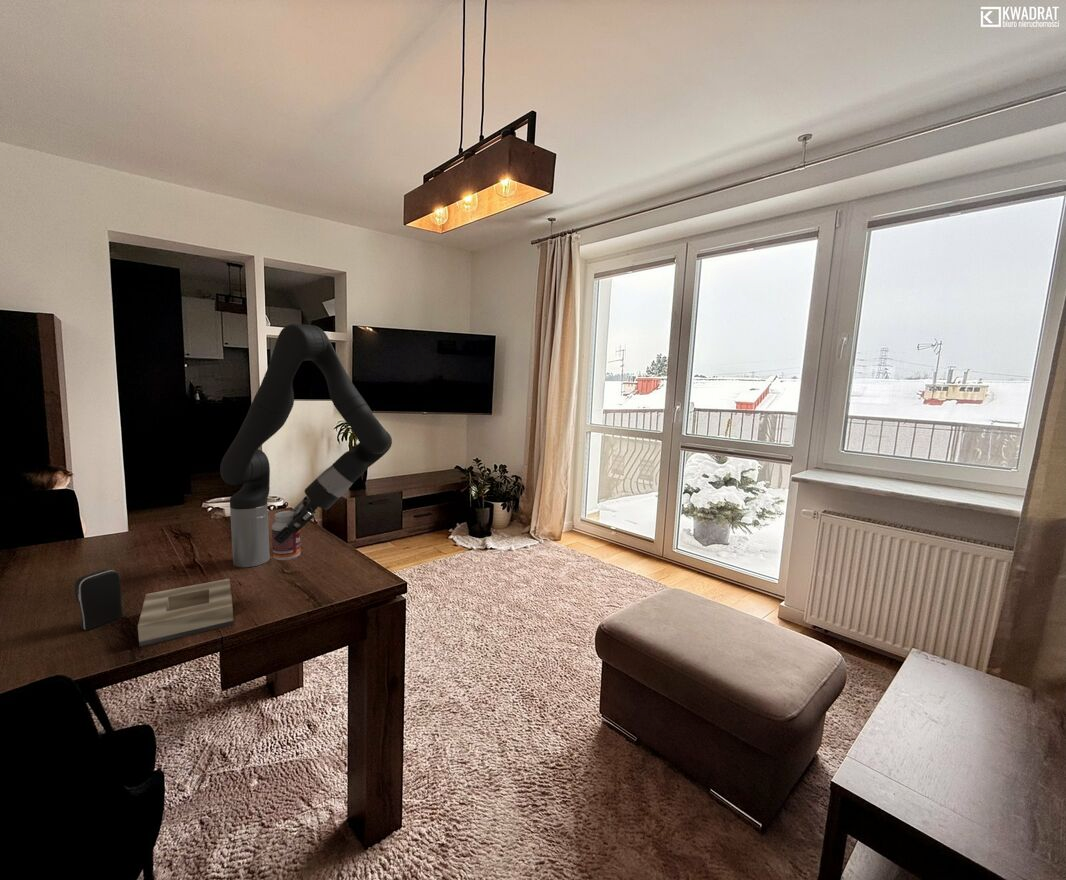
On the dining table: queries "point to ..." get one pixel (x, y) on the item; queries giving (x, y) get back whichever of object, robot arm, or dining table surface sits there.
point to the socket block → (185, 611)
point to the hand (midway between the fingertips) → (278, 536)
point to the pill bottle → (291, 544)
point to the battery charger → (98, 598)
